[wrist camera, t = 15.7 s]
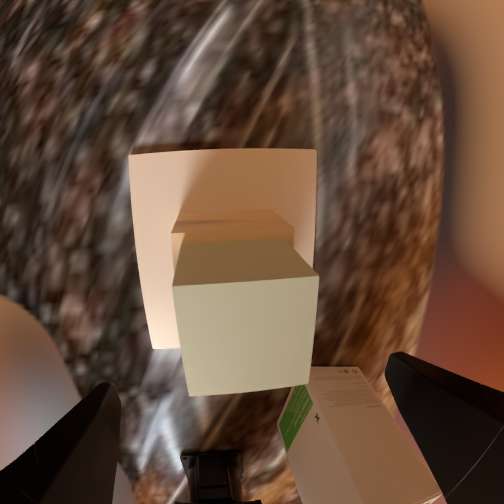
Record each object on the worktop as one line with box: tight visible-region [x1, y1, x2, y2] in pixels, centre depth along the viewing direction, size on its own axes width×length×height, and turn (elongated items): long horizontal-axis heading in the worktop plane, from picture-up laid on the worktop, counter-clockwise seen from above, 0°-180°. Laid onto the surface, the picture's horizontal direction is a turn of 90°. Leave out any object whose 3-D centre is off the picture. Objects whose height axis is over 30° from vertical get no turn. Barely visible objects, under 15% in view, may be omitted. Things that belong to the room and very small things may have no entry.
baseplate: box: [129, 148, 317, 349], centre depth 21 cm, size 14×12×1 cm
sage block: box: [172, 238, 319, 396], centre depth 13 cm, size 5×5×5 cm
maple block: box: [171, 210, 294, 274], centre depth 18 cm, size 6×6×5 cm
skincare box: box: [277, 367, 442, 504], centre depth 19 cm, size 8×7×16 cm
